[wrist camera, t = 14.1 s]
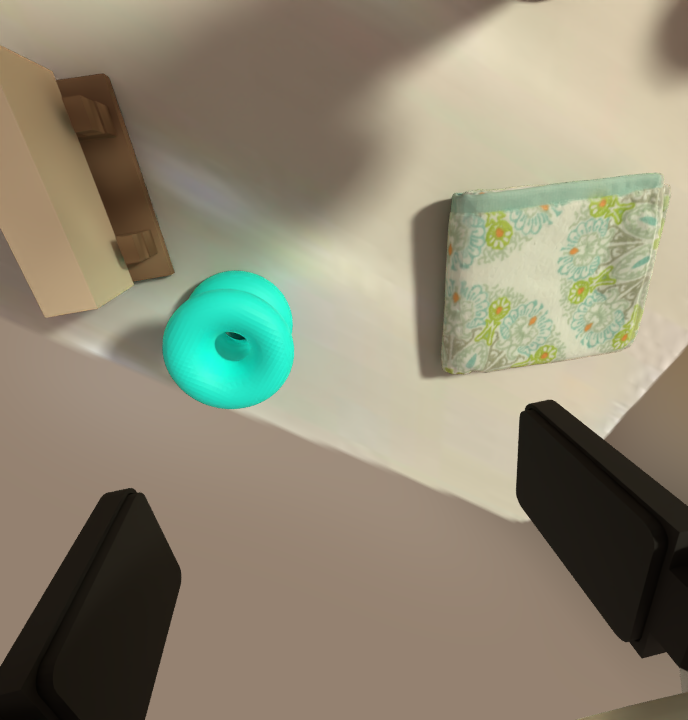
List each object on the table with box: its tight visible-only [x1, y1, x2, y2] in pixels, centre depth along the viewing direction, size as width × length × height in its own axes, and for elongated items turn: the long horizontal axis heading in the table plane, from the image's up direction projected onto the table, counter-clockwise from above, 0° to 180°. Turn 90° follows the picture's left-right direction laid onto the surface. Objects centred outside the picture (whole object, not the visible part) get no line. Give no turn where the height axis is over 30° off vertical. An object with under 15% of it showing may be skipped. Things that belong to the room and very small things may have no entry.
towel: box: [441, 173, 671, 374], centre depth 39 cm, size 18×21×5 cm
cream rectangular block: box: [0, 45, 134, 318], centre depth 26 cm, size 15×4×7 cm, turn 9°
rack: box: [56, 74, 175, 282], centre depth 30 cm, size 15×9×5 cm, turn 9°
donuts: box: [162, 271, 294, 409], centre depth 34 cm, size 10×10×10 cm
